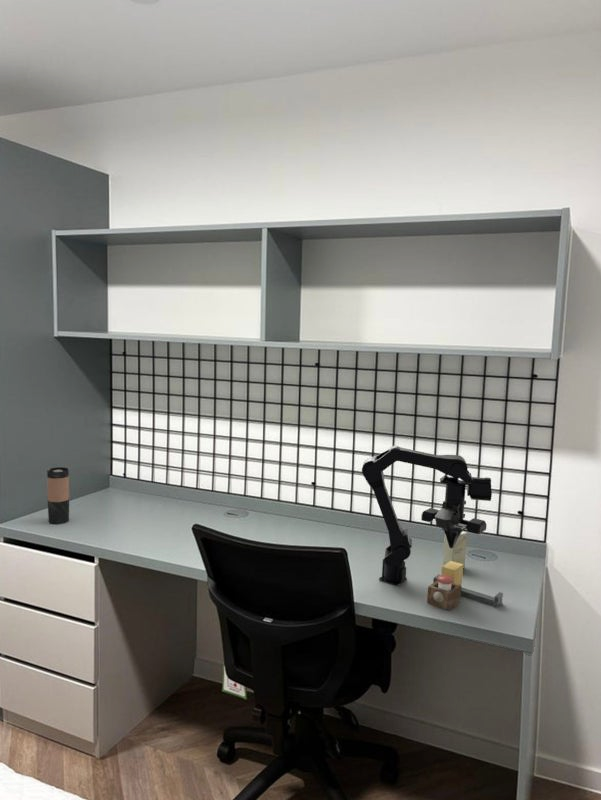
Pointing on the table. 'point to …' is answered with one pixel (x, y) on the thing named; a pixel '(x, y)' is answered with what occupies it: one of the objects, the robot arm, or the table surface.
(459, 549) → the skincare box
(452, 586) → the brown wooden box
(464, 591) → the rail
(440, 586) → the plunger
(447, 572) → the block
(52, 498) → the travel mug
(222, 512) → the table surface
